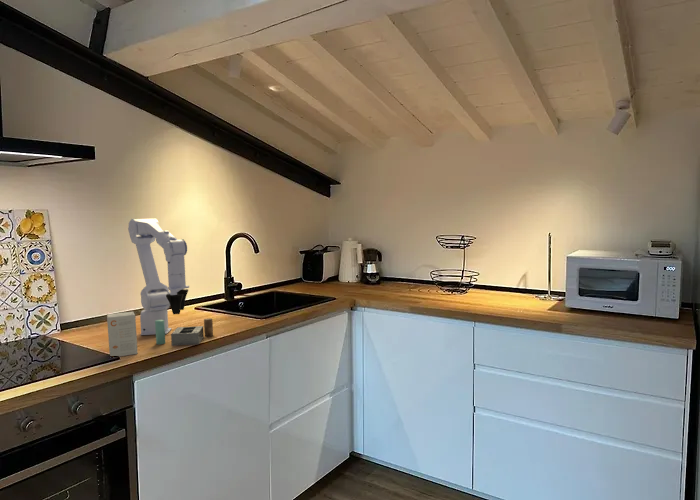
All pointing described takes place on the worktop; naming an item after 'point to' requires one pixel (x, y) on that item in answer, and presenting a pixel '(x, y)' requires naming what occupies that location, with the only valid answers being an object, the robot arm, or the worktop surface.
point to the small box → (122, 334)
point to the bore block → (187, 335)
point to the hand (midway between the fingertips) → (178, 312)
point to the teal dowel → (160, 332)
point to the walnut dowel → (208, 327)
